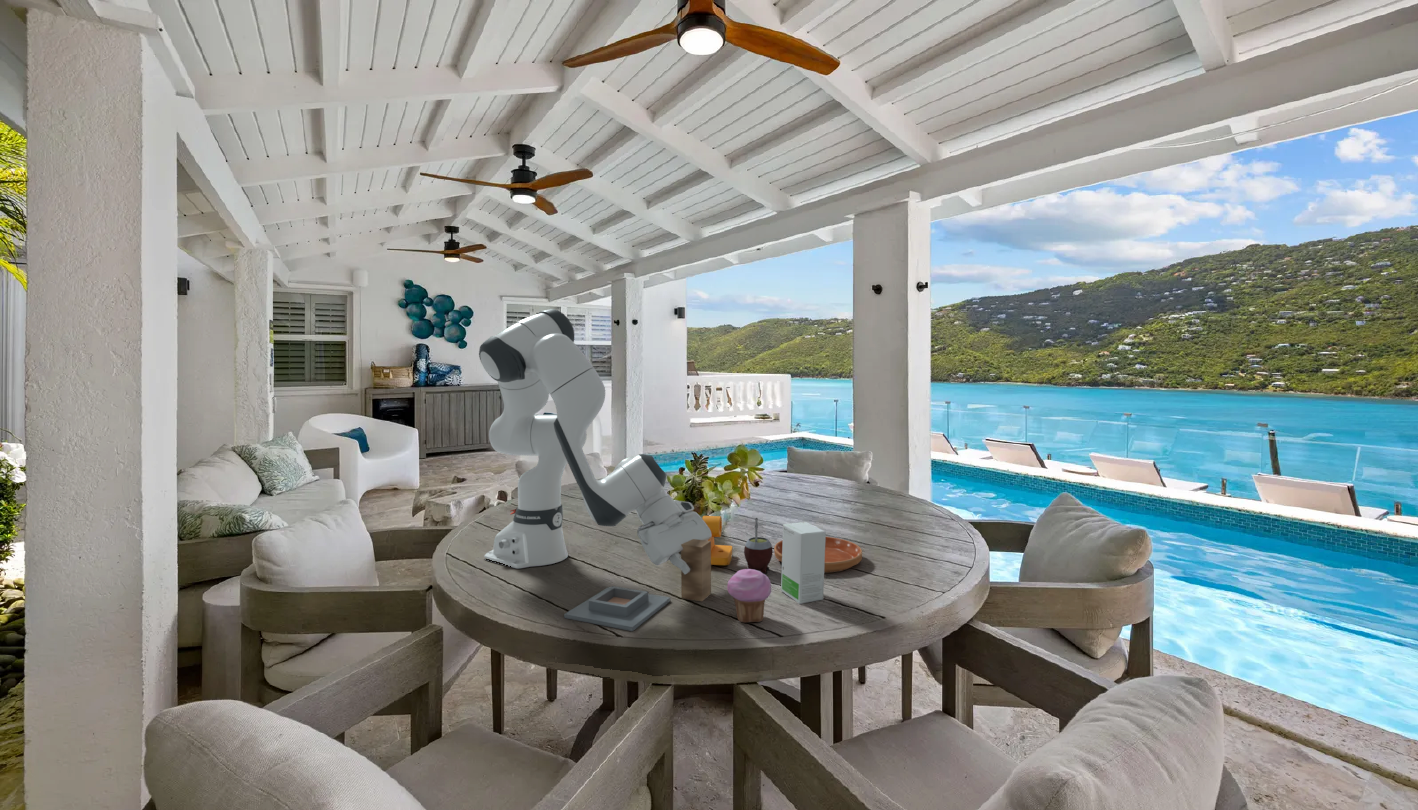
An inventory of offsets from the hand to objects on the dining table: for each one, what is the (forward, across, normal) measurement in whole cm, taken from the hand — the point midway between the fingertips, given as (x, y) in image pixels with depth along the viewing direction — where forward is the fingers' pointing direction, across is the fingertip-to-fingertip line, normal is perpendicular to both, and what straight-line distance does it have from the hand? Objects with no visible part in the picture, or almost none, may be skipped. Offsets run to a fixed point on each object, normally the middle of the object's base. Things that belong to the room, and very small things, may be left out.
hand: (698, 567), depth 127 cm
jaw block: (+4, 0, +5) cm, 7 cm away
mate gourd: (+8, +21, +2) cm, 22 cm away
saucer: (+14, +37, -4) cm, 40 cm away
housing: (-3, -15, +12) cm, 19 cm away
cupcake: (+16, -5, -6) cm, 17 cm away
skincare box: (+19, +12, -9) cm, 24 cm away
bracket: (-2, +23, +12) cm, 26 cm away
